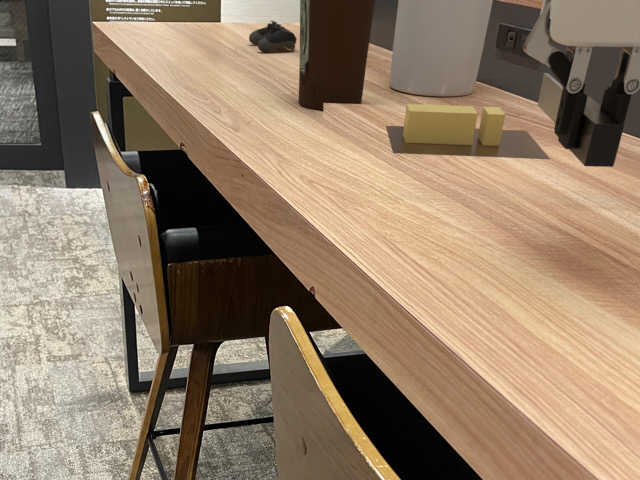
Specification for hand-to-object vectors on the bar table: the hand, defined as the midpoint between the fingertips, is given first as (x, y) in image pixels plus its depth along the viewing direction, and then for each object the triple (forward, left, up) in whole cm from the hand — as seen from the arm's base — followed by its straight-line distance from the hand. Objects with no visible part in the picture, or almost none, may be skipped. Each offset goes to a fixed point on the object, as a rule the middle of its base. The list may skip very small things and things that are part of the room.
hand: (584, 143), depth 67 cm
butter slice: (0, -36, -8) cm, 37 cm away
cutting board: (+3, -36, -9) cm, 37 cm away
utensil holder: (+2, -78, -10) cm, 79 cm away
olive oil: (+19, -63, -10) cm, 67 cm away
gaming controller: (+30, -115, -10) cm, 119 cm away
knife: (0, -6, -1) cm, 6 cm away
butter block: (+7, -36, -8) cm, 37 cm away
